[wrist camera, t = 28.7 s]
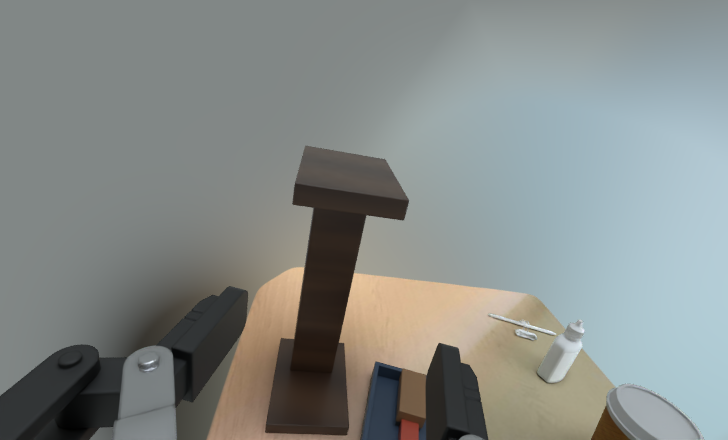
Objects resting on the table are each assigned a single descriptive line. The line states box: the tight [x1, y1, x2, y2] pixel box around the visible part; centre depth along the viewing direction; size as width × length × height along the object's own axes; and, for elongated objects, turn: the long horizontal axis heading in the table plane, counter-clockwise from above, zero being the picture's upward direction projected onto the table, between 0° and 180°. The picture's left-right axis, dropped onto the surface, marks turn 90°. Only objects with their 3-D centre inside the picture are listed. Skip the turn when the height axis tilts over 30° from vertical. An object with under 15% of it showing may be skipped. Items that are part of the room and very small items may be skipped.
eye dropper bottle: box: [537, 319, 585, 383], centre depth 57 cm, size 4×6×12 cm
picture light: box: [488, 314, 556, 340], centre depth 69 cm, size 14×4×2 cm, turn 77°
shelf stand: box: [265, 146, 409, 435], centre depth 42 cm, size 14×10×32 cm
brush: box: [395, 369, 426, 440], centre depth 42 cm, size 17×4×3 cm, turn 171°
